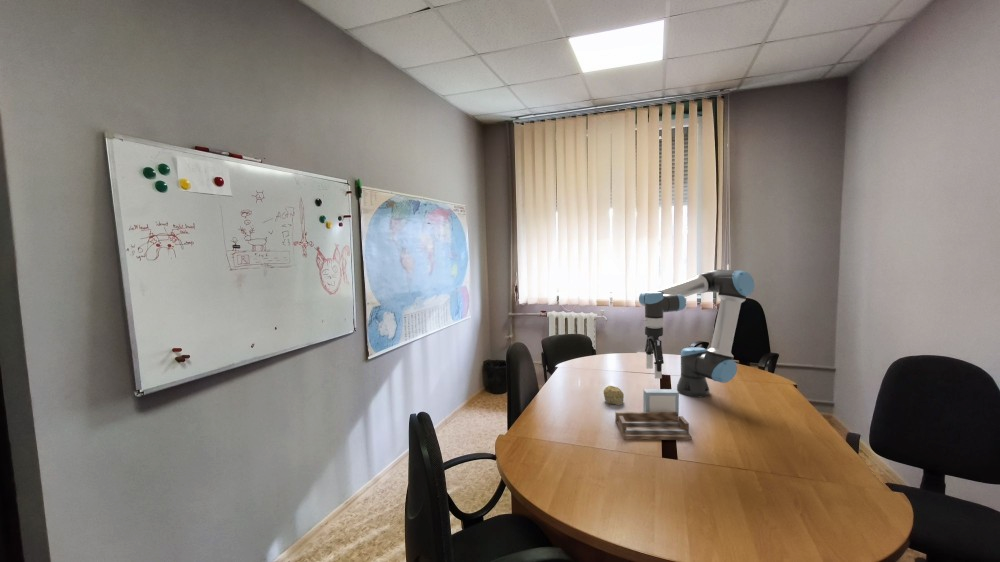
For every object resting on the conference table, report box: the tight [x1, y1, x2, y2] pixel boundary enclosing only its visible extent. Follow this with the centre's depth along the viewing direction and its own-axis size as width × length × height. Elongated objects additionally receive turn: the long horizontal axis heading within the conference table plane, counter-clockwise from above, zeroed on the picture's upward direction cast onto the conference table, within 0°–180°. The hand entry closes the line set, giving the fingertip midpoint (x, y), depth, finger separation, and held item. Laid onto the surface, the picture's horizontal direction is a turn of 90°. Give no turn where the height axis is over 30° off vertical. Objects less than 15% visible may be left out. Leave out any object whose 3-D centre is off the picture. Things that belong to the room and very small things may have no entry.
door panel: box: [642, 388, 680, 420], centre depth 173 cm, size 14×4×12 cm, turn 86°
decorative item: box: [603, 385, 625, 406], centre depth 191 cm, size 10×10×10 cm
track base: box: [614, 411, 693, 441], centre depth 161 cm, size 26×16×6 cm, turn 86°
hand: (653, 373), depth 174 cm, fingers open, 13 cm apart
